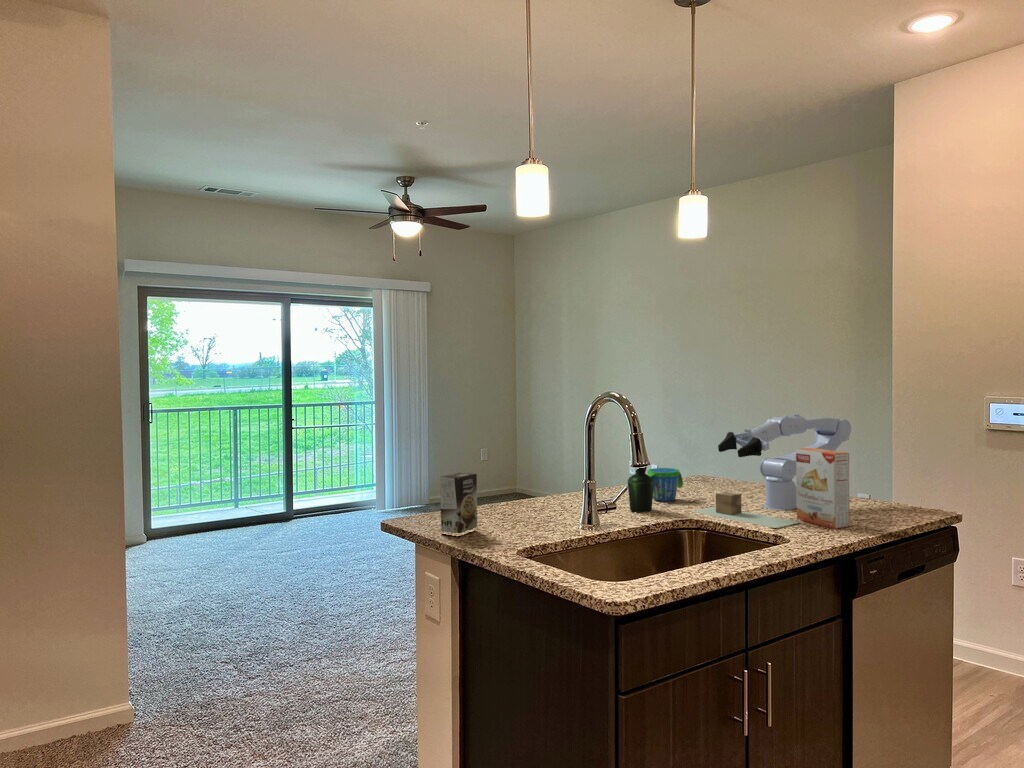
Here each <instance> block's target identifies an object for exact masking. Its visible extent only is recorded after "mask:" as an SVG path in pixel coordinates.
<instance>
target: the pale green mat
mask: <svg viewBox="0 0 1024 768" xmlns="http://www.w3.org/2000/svg"><path fill="white" fill-rule="evenodd" d="M689 512H691V513H697V514H701V515H706V516H707V515H708V516H711V517H716V518H717V517H718V518H723V519H728V520H732V521H738V522H743V523H747V524H752V525H753V524H754V525H759V526H762V527H769V528H779V527H783V528H785V527H784V526H788V525H792V526H794V525H793V524H796V525H798V524H797V523H802V522H801V521H797V520H791V519H787V518H781V517H780V518H779V517H776V516H775V517H774V516H769V515H763V514H758V513H753V512H748V511H747V512H746V511H742V510H741V513H740V514H735V515H726V514H721V513H716V506H712V507H705V508H700V509H696V510H690V511H689ZM788 527H789V526H788ZM779 529H780V528H779Z"/></svg>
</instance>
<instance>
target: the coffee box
mask: <svg viewBox="0 0 1024 768" xmlns="http://www.w3.org/2000/svg"><path fill="white" fill-rule="evenodd" d="M477 476H478V475H477V473H473V472H471V473H470V472H469V473H468V472H457V473H451V474H447V475H442V476H440V532H441V531H445V532H451V533H462V532H465V531H467V530H471V529H473V528H476V527H477V528H478V481H477V480H478V477H477Z"/></svg>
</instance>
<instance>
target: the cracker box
mask: <svg viewBox="0 0 1024 768" xmlns="http://www.w3.org/2000/svg"><path fill="white" fill-rule="evenodd" d="M795 451H796V475H795V476H796V479H795V480H796V489H797V508H796V519H797V520H800V521H802V522H805V521H807V522H806V523H809V522H810V524H813V523H814V524H813V525H817V524H819V525H818V526H821V525H823V526H822V527H825V526H826V527H825V528H829V527H830V529H834V530H837V529H838V528H839V529H844V528H850V453H849V452H845V451H838V450H835V451H830V450H823V449H816V448H805V447H802V448H801V447H800V448H797V449H795Z"/></svg>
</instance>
